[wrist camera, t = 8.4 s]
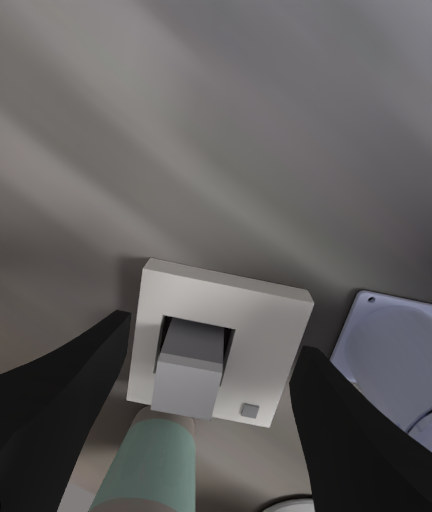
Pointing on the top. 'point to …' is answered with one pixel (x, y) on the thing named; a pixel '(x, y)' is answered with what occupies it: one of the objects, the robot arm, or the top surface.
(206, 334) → the plug
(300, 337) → the socket plate
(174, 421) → the coffee cup
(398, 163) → the top surface
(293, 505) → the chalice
